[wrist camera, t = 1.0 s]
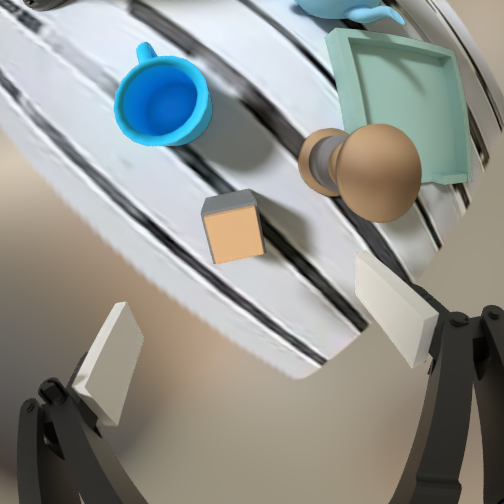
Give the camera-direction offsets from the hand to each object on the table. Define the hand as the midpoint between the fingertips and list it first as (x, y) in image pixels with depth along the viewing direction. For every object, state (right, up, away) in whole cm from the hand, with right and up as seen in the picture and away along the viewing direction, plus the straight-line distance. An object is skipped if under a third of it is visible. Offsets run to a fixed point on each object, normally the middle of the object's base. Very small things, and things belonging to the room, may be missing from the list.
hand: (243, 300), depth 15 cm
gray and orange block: (-2, +7, +17) cm, 18 cm away
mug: (-9, +20, +11) cm, 24 cm away
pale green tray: (+21, +21, +13) cm, 32 cm away
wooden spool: (+10, +13, +15) cm, 22 cm away
